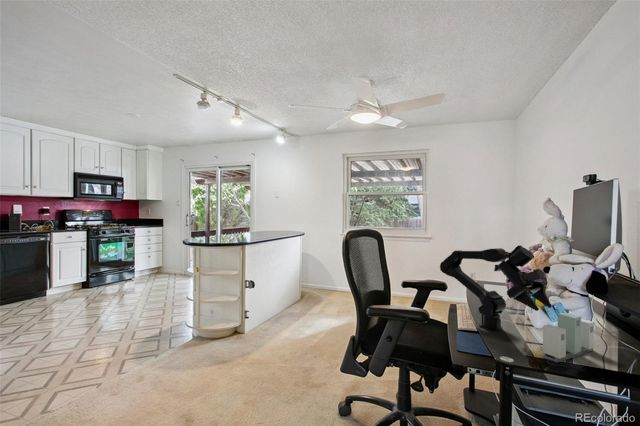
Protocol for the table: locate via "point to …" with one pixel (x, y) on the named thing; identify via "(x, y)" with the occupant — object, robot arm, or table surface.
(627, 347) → the table surface
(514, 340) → the table surface
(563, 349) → the mounted modules
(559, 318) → the block
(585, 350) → the rail
